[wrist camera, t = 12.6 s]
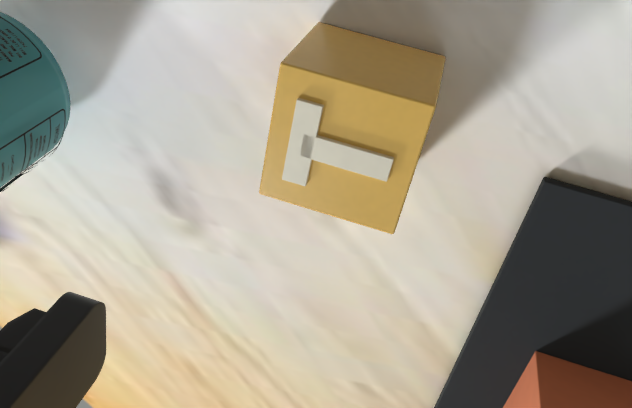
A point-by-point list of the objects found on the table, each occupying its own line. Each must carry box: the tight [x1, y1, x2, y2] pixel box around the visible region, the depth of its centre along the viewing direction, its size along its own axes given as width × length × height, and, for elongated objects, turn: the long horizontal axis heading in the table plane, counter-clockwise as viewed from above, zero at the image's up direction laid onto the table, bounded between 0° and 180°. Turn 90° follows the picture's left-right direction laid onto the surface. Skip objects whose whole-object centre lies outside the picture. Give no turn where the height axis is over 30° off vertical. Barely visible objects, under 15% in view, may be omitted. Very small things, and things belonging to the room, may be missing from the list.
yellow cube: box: [259, 22, 446, 234], centre depth 20 cm, size 5×5×5 cm
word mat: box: [434, 177, 632, 408], centre depth 27 cm, size 20×10×1 cm, turn 169°
